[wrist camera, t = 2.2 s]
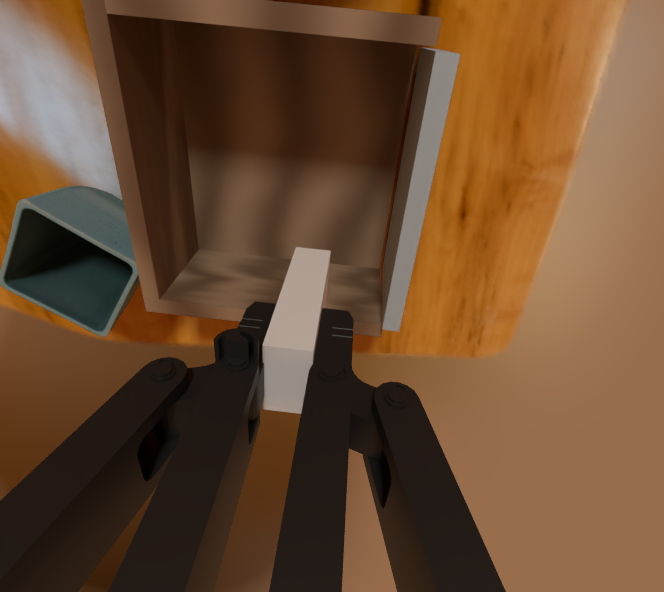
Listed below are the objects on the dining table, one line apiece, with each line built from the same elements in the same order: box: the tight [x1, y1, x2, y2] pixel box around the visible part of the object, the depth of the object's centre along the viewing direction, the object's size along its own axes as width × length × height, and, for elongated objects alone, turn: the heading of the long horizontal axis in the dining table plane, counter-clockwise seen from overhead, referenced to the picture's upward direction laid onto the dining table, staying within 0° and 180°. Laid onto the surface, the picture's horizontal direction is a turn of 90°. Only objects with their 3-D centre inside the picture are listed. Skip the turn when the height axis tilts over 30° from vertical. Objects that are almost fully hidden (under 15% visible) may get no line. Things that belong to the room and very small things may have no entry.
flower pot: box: [0, 186, 140, 337], centre depth 34 cm, size 9×9×9 cm
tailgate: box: [382, 48, 460, 332], centre depth 28 cm, size 1×17×9 cm, turn 175°
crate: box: [81, 0, 442, 337], centre depth 29 cm, size 18×20×10 cm
